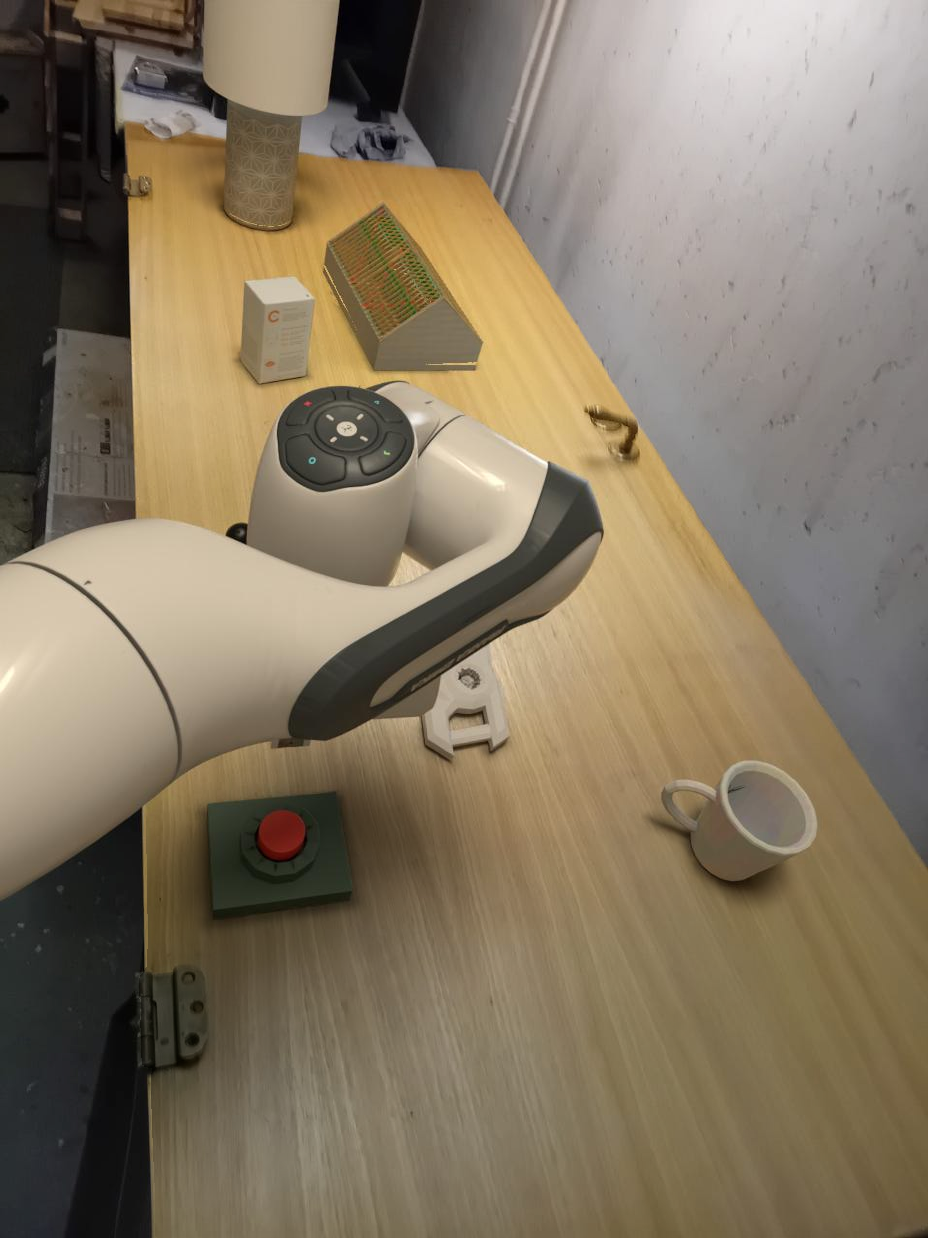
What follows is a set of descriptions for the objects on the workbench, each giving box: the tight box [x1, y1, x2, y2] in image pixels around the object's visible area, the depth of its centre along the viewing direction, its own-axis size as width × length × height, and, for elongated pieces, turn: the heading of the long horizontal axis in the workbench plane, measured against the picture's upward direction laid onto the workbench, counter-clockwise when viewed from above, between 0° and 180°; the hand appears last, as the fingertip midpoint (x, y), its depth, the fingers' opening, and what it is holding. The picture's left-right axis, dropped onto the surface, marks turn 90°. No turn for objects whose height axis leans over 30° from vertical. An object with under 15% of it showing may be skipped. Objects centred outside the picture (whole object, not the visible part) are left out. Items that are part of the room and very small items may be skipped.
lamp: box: [202, 0, 340, 232], centre depth 140 cm, size 21×21×42 cm
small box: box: [240, 275, 316, 385], centre depth 120 cm, size 8×6×13 cm
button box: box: [206, 790, 354, 920], centre depth 74 cm, size 12×10×4 cm
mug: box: [660, 759, 819, 882], centre depth 85 cm, size 10×15×10 cm
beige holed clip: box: [421, 643, 511, 761], centre depth 92 cm, size 18×3×10 cm
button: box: [258, 810, 305, 861], centre depth 72 cm, size 4×4×2 cm
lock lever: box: [224, 522, 248, 545], centre depth 92 cm, size 14×4×4 cm, turn 138°
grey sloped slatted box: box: [322, 201, 484, 371], centre depth 138 cm, size 30×19×13 cm, turn 22°
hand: (288, 739), depth 63 cm, fingers closed
